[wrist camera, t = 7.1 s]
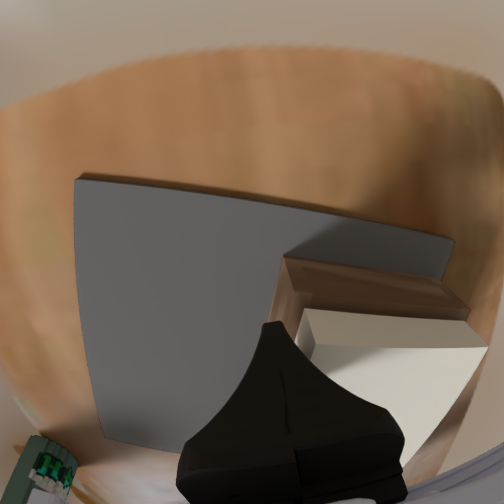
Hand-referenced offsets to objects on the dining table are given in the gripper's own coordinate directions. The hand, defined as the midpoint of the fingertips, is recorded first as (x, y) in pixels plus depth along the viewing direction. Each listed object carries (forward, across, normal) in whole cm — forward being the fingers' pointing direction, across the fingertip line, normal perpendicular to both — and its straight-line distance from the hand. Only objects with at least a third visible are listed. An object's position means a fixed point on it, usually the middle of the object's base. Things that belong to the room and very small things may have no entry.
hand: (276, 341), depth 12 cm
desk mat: (+6, +2, +6) cm, 9 cm away
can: (+6, +27, +18) cm, 33 cm away
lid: (+1, -4, +6) cm, 7 cm away
